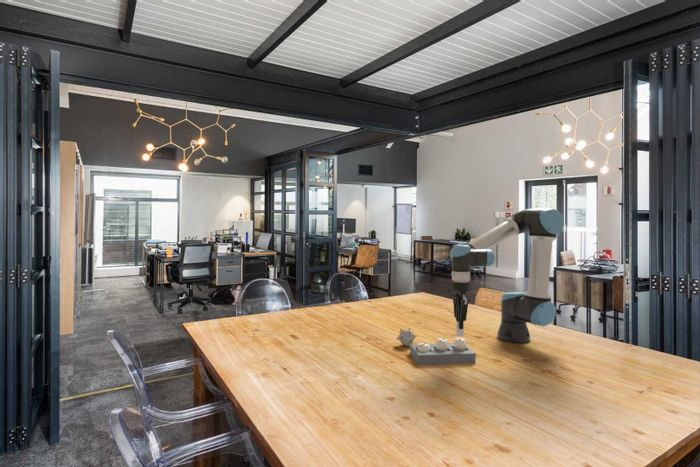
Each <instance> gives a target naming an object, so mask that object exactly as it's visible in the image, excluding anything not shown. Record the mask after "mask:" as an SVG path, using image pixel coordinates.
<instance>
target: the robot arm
mask: <svg viewBox="0 0 700 467" xmlns="http://www.w3.org/2000/svg"><path fill="white" fill-rule="evenodd" d="M564 224H565V222H564V217H563V215H562V213H561V212H560V211H559V210H558V209H555V208H550V207H549V208H548V207H542V208H541V207H540V208H525V209H522V210H520V211H517V212H516V213H514V214H512V215H510V216H508V217H507V218H505V219H504V220H503V221H502V223H500V224H498V225H497V226H494V227H493V228H492V229H490V230H488V231H486V232H484V233H483V234H481V235H479V236H477V237H476V238H474V239H471V240H470V241H469V242H466V243H465V244H455V245H453V246H452V247H451V249H450V251H449V258H450V260H451V274H450V275H451V280H452V281H451V290H452V291H454V294H452V302H453V303H452V304H453V315H454V316H453V317H454V318H455V321H456V322H455V323H456V325H455V329H456V330H455V335H456V337H464V330H465V329H464V328H465V327H464V324H465V322H466V321H467V315H468V309H469V303H470V300H469V299H467V298H468V297H467V292H469V291H470V290H471V289H470V288H471V282H470V281H471V268H472V267H484V268H486V267H490V266H492V265H493V264H494V263H495V260H496V258H495V255H496V254H495V253H494V251H493V250H492V249H491V248H494V247H495V246H497V245H498V244H500V243H502V242H504V241H505V240H508V239H509V238H510V237H517V236H518V235H521V234H528V237H529V238H530V239H531V248H530V262H529V271H528V272H529V273H528V281H527V282H528V285H527V291H526V292H524V291H523V292H522V291H513V292H509V291H508V292H504V293H502V295H501V303H500V304H501V305H500V306H501V308H500V309H501V310H500V311H501V313H500V314H501V320H500V321H501V322H500V324H499V327H498V330H497V335H496V337H497V338H498V339H499V340H501V341H504V342H510V343H517V344H521V343H523V344H524V343H529V342H530V341H531V334H530V331H529V329H528V324H527V323H529V324H531V325H534V326H539V327H547V326H549V325H550V324H551V323H552V322H553V321H554V320H555V318H556V314H557V308H556V305H555V304H554V303H553V302H552V296H551V295H550V293H549V286H550V285H549V284H550V273H551V260H552V250H553V242H554V241H555V240H556V239H557V236H558V234H559V233H561V232H562V230H563V229H564Z"/></svg>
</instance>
